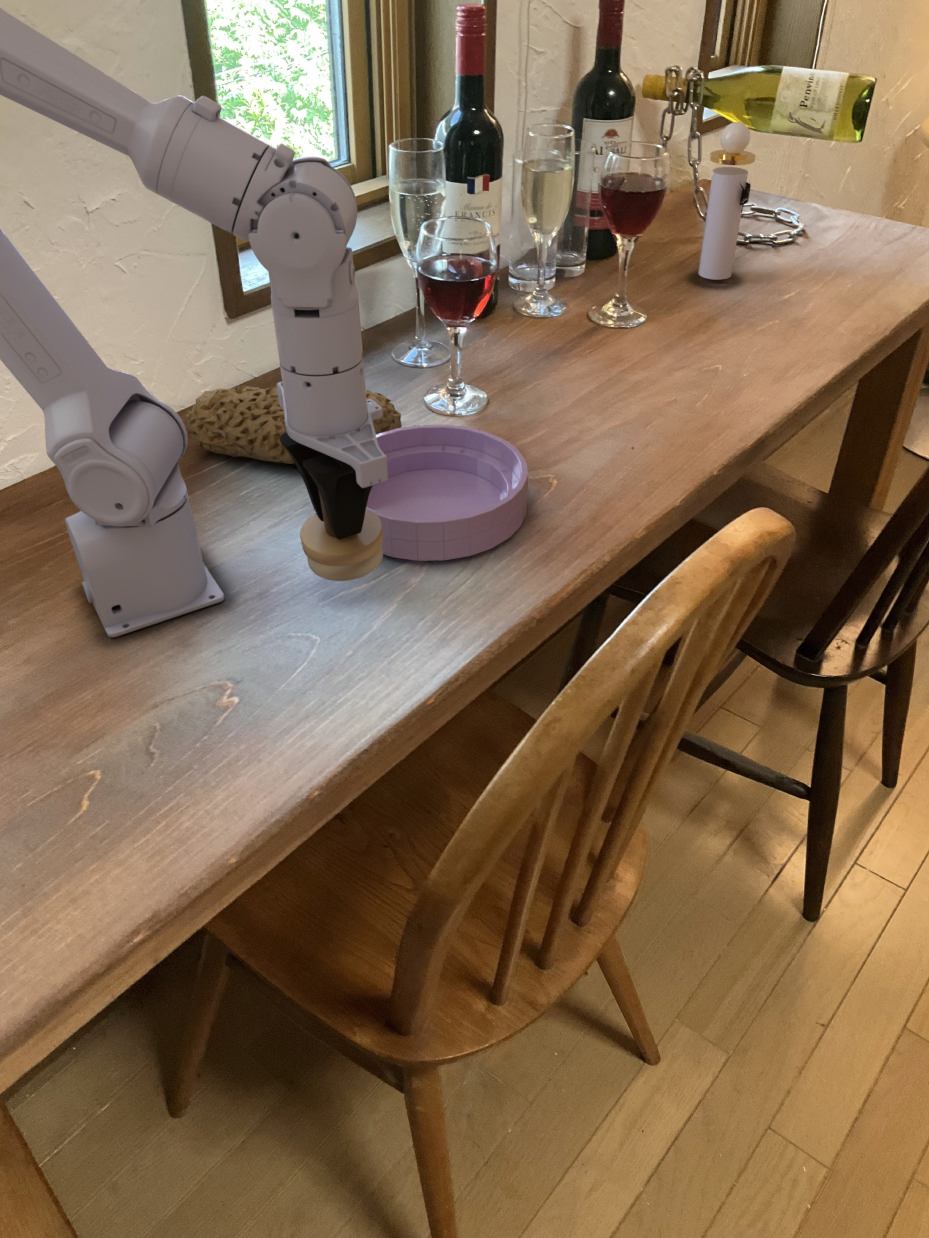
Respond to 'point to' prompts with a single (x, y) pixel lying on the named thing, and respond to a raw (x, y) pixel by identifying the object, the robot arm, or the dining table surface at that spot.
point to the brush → (342, 548)
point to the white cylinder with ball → (725, 203)
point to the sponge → (256, 422)
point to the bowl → (448, 492)
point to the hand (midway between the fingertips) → (339, 525)
